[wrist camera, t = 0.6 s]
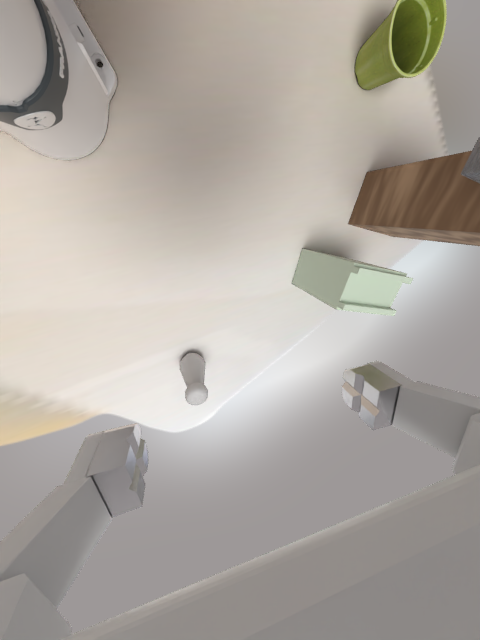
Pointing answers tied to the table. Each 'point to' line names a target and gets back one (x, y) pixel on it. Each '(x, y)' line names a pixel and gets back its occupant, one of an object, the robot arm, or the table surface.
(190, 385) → the salt shaker
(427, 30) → the plant pot
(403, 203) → the walnut stand
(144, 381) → the table surface
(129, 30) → the table surface
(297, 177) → the table surface
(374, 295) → the block
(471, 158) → the bar
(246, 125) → the table surface
